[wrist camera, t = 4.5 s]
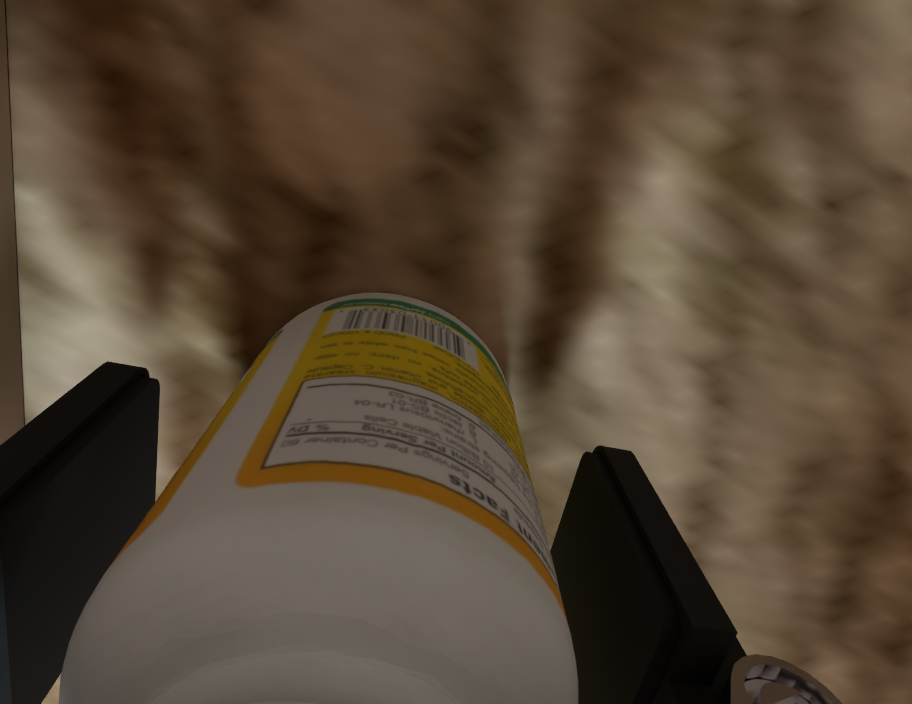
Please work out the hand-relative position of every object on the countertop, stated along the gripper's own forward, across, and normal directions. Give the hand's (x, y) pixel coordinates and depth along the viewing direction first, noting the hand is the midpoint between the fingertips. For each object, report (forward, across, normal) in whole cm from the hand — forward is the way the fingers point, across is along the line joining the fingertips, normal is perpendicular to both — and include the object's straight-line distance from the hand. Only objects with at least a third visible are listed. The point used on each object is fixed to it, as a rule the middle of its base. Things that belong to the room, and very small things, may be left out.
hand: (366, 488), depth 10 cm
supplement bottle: (+3, 0, 0) cm, 3 cm away
